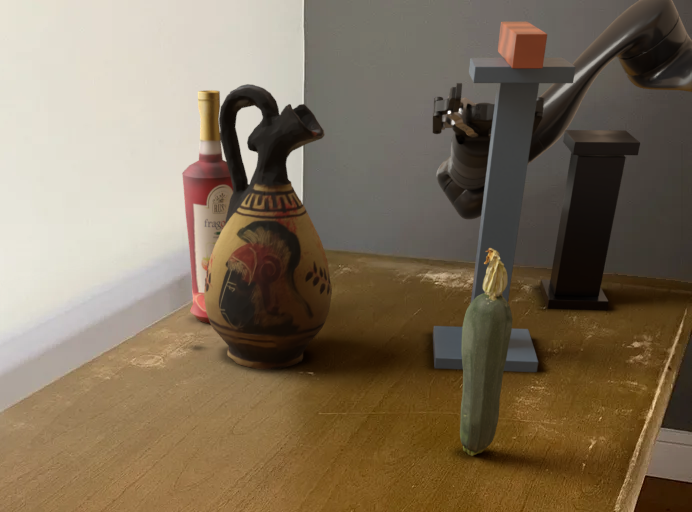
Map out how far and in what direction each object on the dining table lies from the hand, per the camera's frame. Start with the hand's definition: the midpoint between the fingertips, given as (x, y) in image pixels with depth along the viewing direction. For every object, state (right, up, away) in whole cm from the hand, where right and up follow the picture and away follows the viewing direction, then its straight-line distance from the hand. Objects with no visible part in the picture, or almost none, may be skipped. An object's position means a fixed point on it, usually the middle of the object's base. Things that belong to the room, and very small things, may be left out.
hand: (492, 90), depth 122 cm
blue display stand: (-2, -34, -2) cm, 34 cm away
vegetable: (-9, -51, -26) cm, 58 cm away
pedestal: (+15, -22, +16) cm, 31 cm away
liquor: (-36, -26, +11) cm, 45 cm away
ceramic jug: (-29, -34, -1) cm, 45 cm away
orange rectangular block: (-2, -6, -18) cm, 19 cm away
